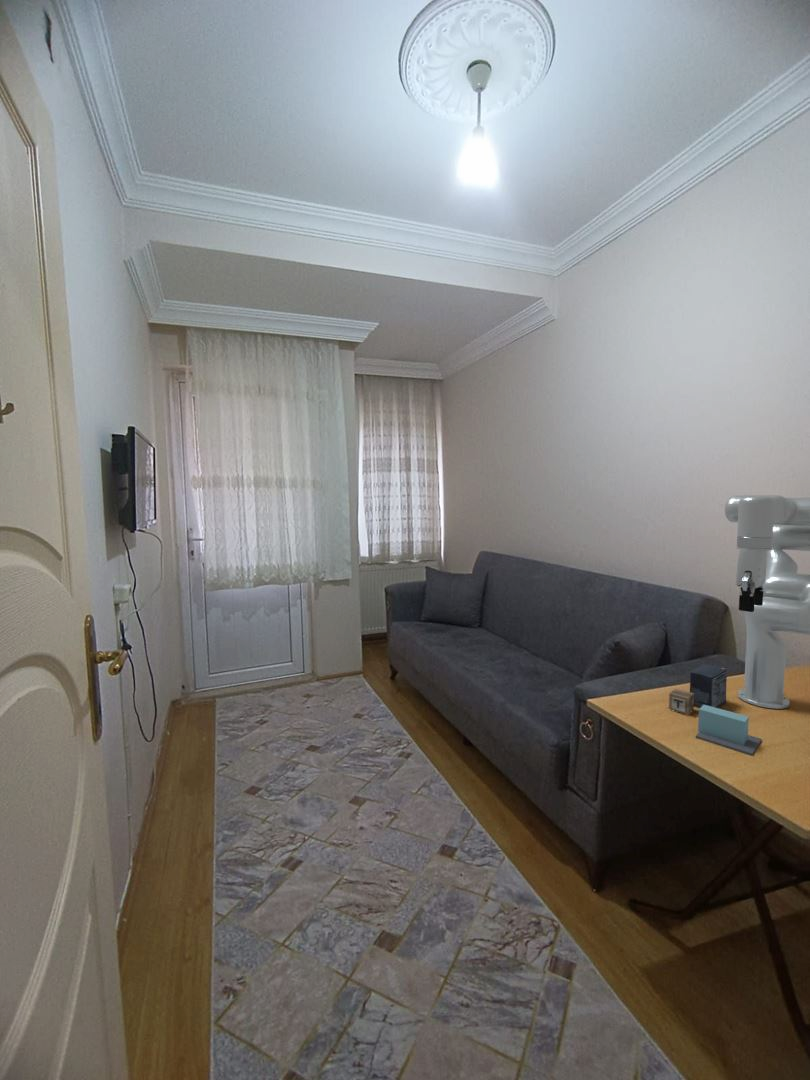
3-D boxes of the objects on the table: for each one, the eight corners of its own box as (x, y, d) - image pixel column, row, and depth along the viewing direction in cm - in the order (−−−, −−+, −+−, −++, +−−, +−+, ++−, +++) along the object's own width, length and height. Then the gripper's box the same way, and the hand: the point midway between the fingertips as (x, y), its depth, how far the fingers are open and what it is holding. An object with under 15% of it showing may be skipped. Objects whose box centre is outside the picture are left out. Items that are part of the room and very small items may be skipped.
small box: (703, 695, 149) (704, 662, 148) (726, 702, 144) (728, 668, 143) (687, 704, 143) (689, 670, 142) (711, 712, 137) (713, 676, 136)
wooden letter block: (674, 704, 143) (675, 688, 142) (693, 709, 139) (694, 693, 139) (668, 710, 139) (668, 693, 139) (687, 716, 136) (688, 699, 135)
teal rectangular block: (702, 726, 128) (703, 704, 128) (747, 739, 121) (748, 716, 120) (698, 731, 126) (699, 709, 125) (743, 745, 118) (744, 722, 118)
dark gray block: (707, 724, 130) (707, 722, 130) (761, 740, 121) (761, 738, 121) (695, 737, 123) (695, 735, 123) (752, 755, 115) (752, 753, 115)
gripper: (745, 540, 134) (742, 600, 135) (728, 545, 122) (725, 611, 124) (778, 542, 128) (775, 604, 130) (764, 547, 117) (760, 616, 118)
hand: (750, 607), depth 127 cm, fingers open, 9 cm apart
